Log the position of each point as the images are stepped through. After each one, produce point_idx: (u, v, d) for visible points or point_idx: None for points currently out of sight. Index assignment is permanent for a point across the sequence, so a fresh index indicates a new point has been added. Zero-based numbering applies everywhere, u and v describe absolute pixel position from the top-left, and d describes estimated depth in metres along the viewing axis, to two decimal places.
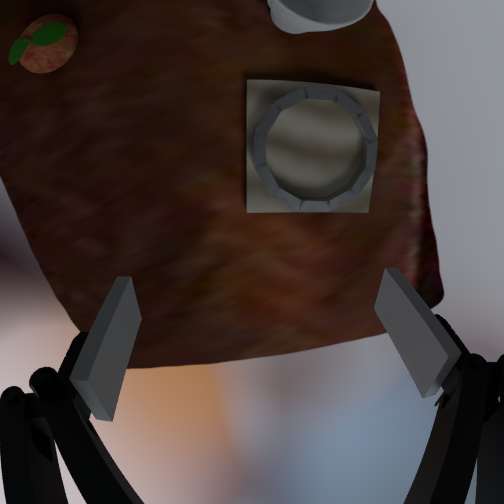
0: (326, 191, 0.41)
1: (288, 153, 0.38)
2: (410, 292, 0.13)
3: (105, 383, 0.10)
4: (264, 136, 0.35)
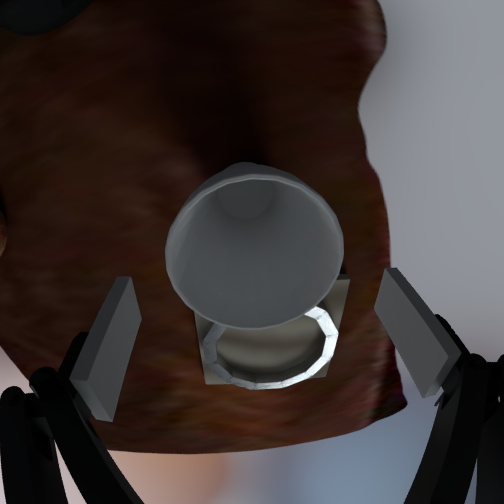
0: (282, 368, 0.40)
1: (241, 346, 0.37)
2: (410, 292, 0.13)
3: (105, 383, 0.10)
4: (213, 344, 0.34)
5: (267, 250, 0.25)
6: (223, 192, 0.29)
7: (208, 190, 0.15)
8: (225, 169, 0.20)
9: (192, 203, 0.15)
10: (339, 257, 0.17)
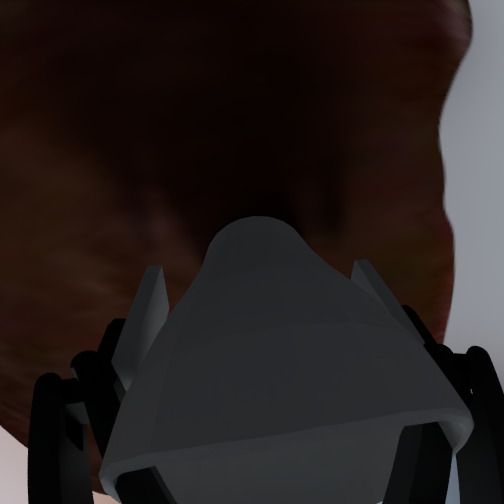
0: None
1: None
2: (377, 282, 0.14)
3: None
4: None
5: None
6: None
7: (172, 461, 0.04)
8: (223, 282, 0.09)
9: (133, 469, 0.04)
10: None
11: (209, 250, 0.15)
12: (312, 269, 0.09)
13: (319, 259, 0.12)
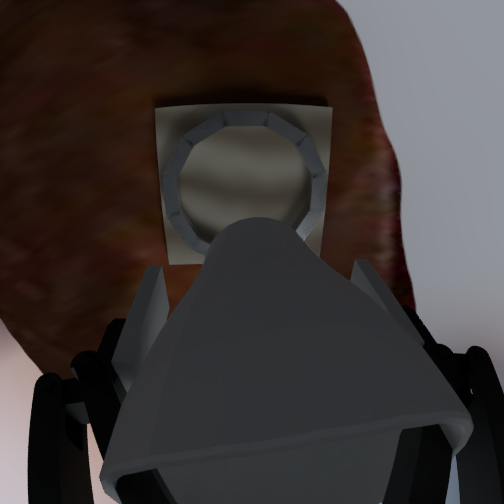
0: None
1: (210, 195, 0.32)
2: (377, 282, 0.14)
3: None
4: (174, 179, 0.29)
5: None
6: None
7: (172, 464, 0.04)
8: (223, 284, 0.09)
9: (134, 471, 0.04)
10: None
11: (209, 251, 0.15)
12: (312, 271, 0.09)
13: (319, 260, 0.11)
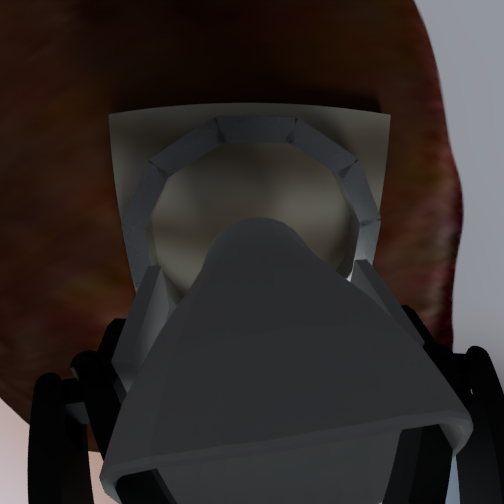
0: None
1: (200, 250, 0.21)
2: (377, 282, 0.14)
3: None
4: (141, 231, 0.18)
5: None
6: None
7: (172, 464, 0.04)
8: (223, 284, 0.09)
9: (134, 471, 0.04)
10: None
11: (209, 251, 0.15)
12: (312, 271, 0.09)
13: (319, 261, 0.11)
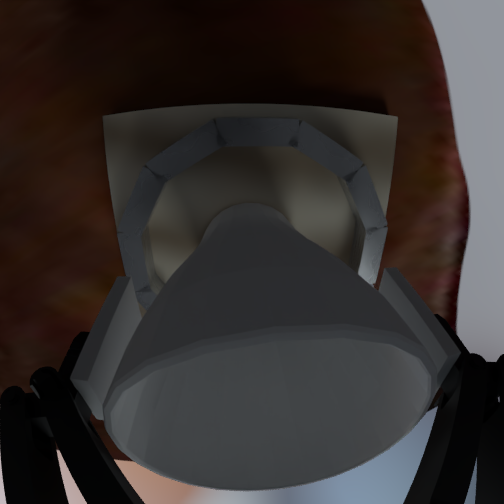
0: None
1: None
2: (410, 292, 0.13)
3: (105, 383, 0.10)
4: (137, 238, 0.17)
5: (285, 348, 0.16)
6: None
7: (164, 365, 0.05)
8: (213, 247, 0.10)
9: (133, 382, 0.06)
10: (419, 416, 0.08)
11: (205, 233, 0.17)
12: (288, 236, 0.11)
13: None
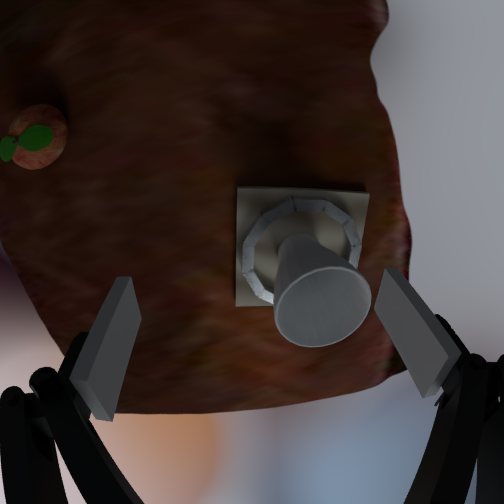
0: None
1: (275, 257, 0.42)
2: (410, 292, 0.13)
3: (105, 383, 0.10)
4: (252, 247, 0.39)
5: (317, 295, 0.38)
6: None
7: (306, 274, 0.28)
8: (302, 251, 0.33)
9: (297, 281, 0.28)
10: (368, 306, 0.30)
11: (283, 245, 0.40)
12: (325, 248, 0.33)
13: None
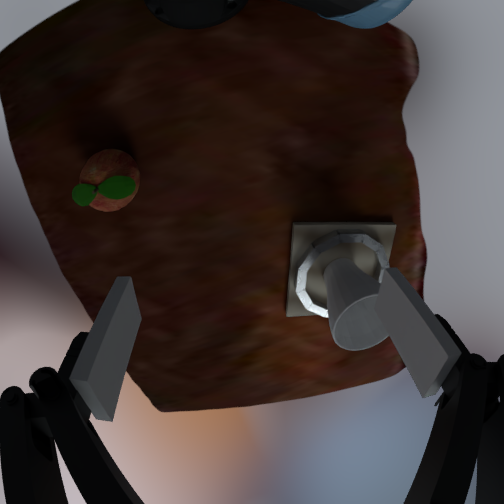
0: None
1: (321, 277, 0.51)
2: (410, 292, 0.13)
3: (105, 383, 0.10)
4: (305, 271, 0.48)
5: (356, 308, 0.47)
6: None
7: (358, 301, 0.36)
8: (350, 278, 0.41)
9: (351, 305, 0.37)
10: None
11: (329, 269, 0.48)
12: (366, 275, 0.41)
13: None
